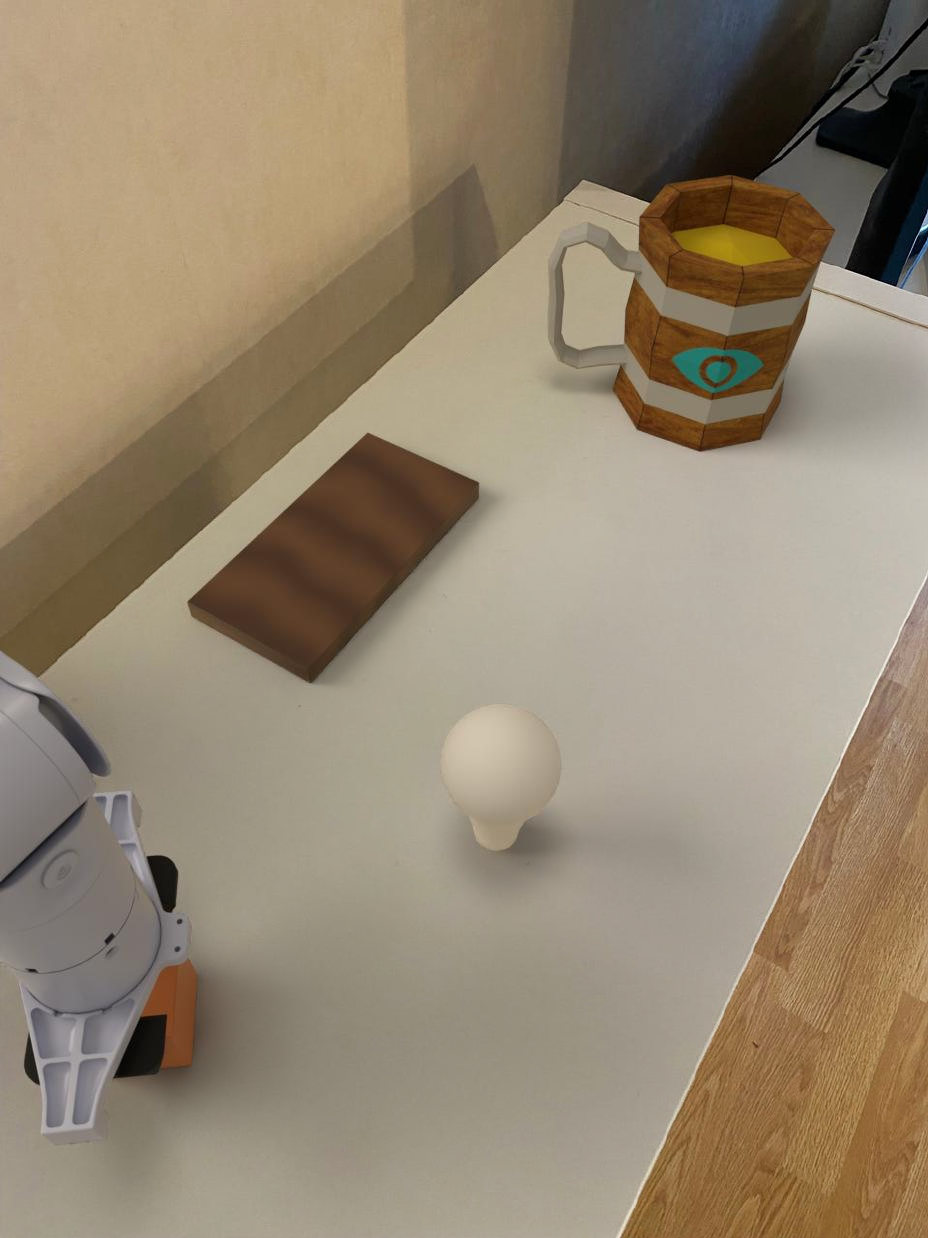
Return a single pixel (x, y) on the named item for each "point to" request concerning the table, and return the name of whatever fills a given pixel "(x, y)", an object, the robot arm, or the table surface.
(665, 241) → the mug
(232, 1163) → the table surface
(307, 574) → the board
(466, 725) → the lightbulb
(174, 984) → the block
